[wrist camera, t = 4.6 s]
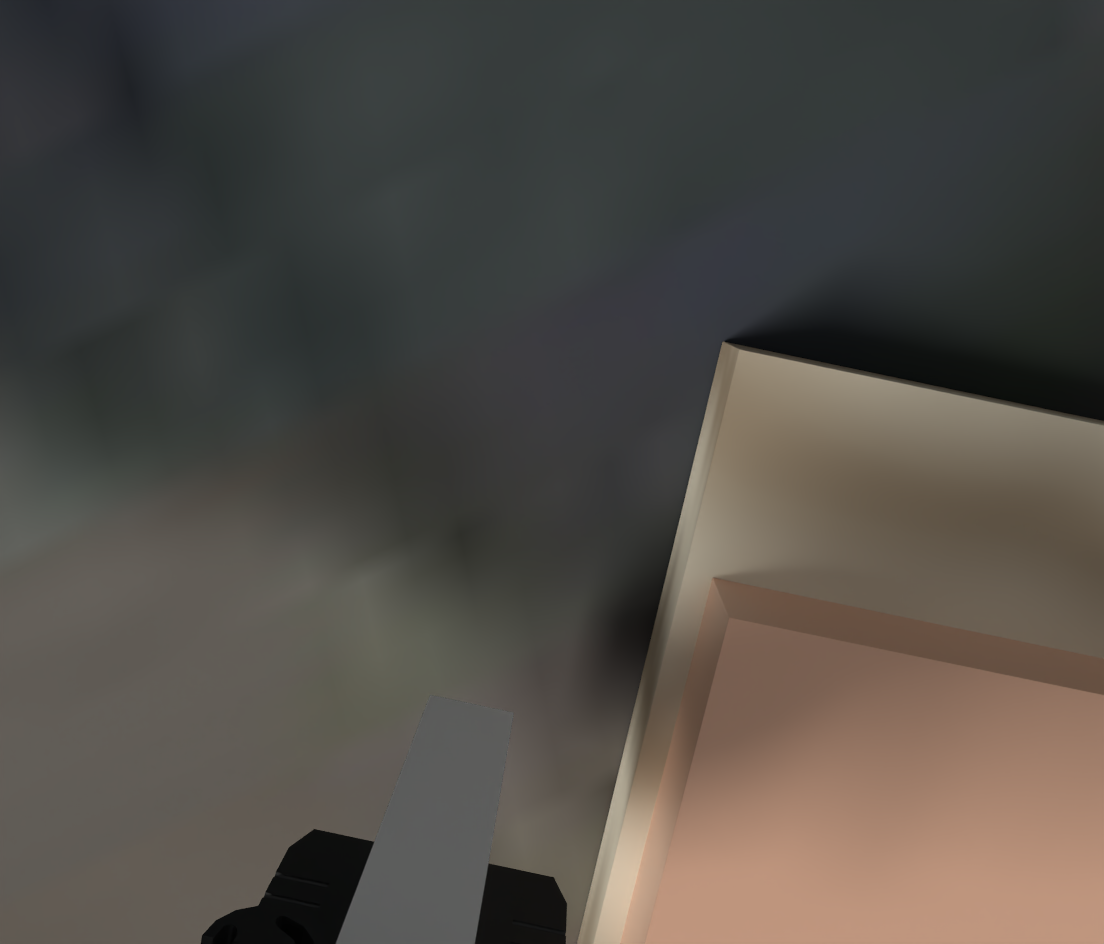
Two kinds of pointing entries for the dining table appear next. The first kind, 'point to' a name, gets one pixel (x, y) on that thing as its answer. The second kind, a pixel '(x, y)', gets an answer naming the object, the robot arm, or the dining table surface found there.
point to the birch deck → (862, 537)
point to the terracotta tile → (874, 785)
